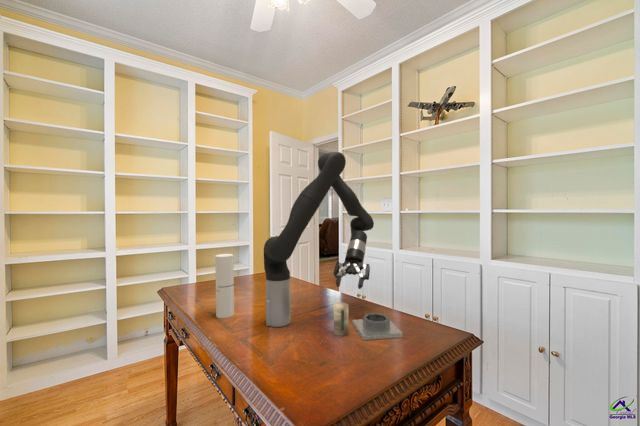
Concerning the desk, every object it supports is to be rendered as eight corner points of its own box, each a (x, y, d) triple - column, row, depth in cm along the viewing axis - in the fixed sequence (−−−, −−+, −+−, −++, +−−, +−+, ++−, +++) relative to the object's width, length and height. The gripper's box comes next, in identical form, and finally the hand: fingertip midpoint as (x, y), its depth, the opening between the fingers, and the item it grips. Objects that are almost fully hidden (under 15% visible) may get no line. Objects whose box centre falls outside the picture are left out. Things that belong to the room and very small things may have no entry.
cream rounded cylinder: (335, 336, 101) (335, 307, 100) (332, 330, 106) (332, 302, 106) (350, 335, 101) (349, 306, 101) (346, 329, 107) (346, 302, 106)
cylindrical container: (228, 318, 118) (227, 256, 117) (212, 317, 119) (211, 256, 118) (237, 312, 125) (236, 254, 124) (221, 311, 126) (221, 253, 125)
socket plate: (363, 340, 98) (363, 327, 97) (352, 323, 111) (352, 312, 111) (402, 337, 100) (402, 324, 100) (387, 321, 113) (387, 309, 113)
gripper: (337, 246, 123) (328, 280, 113) (371, 248, 118) (365, 283, 107) (341, 257, 128) (333, 290, 118) (373, 259, 123) (368, 293, 113)
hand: (348, 286), depth 113 cm, fingers open, 8 cm apart
